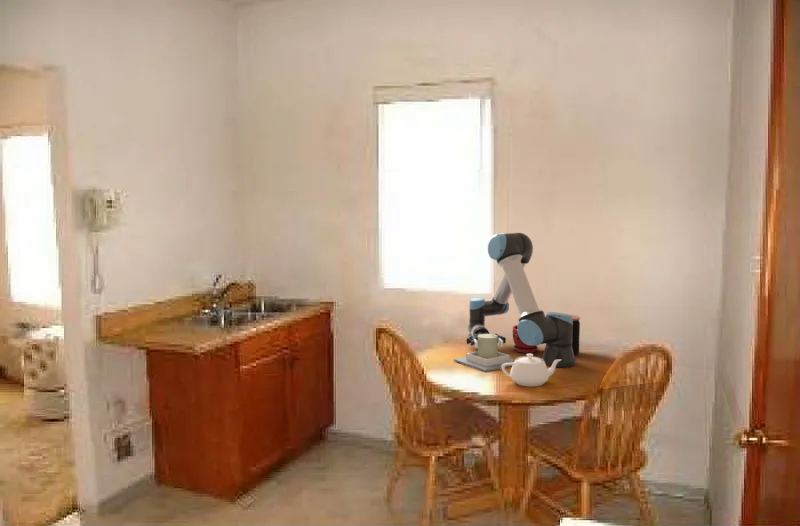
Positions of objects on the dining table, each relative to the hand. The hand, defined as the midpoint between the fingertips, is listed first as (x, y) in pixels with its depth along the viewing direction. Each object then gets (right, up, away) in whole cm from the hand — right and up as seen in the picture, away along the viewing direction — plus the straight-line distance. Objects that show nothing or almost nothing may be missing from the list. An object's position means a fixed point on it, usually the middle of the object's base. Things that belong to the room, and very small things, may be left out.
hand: (489, 344), depth 296 cm
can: (0, -8, +5) cm, 10 cm away
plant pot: (+22, -7, +26) cm, 35 cm away
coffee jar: (+41, -7, +21) cm, 46 cm away
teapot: (+14, -13, -26) cm, 32 cm away
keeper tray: (0, -9, +5) cm, 10 cm away
